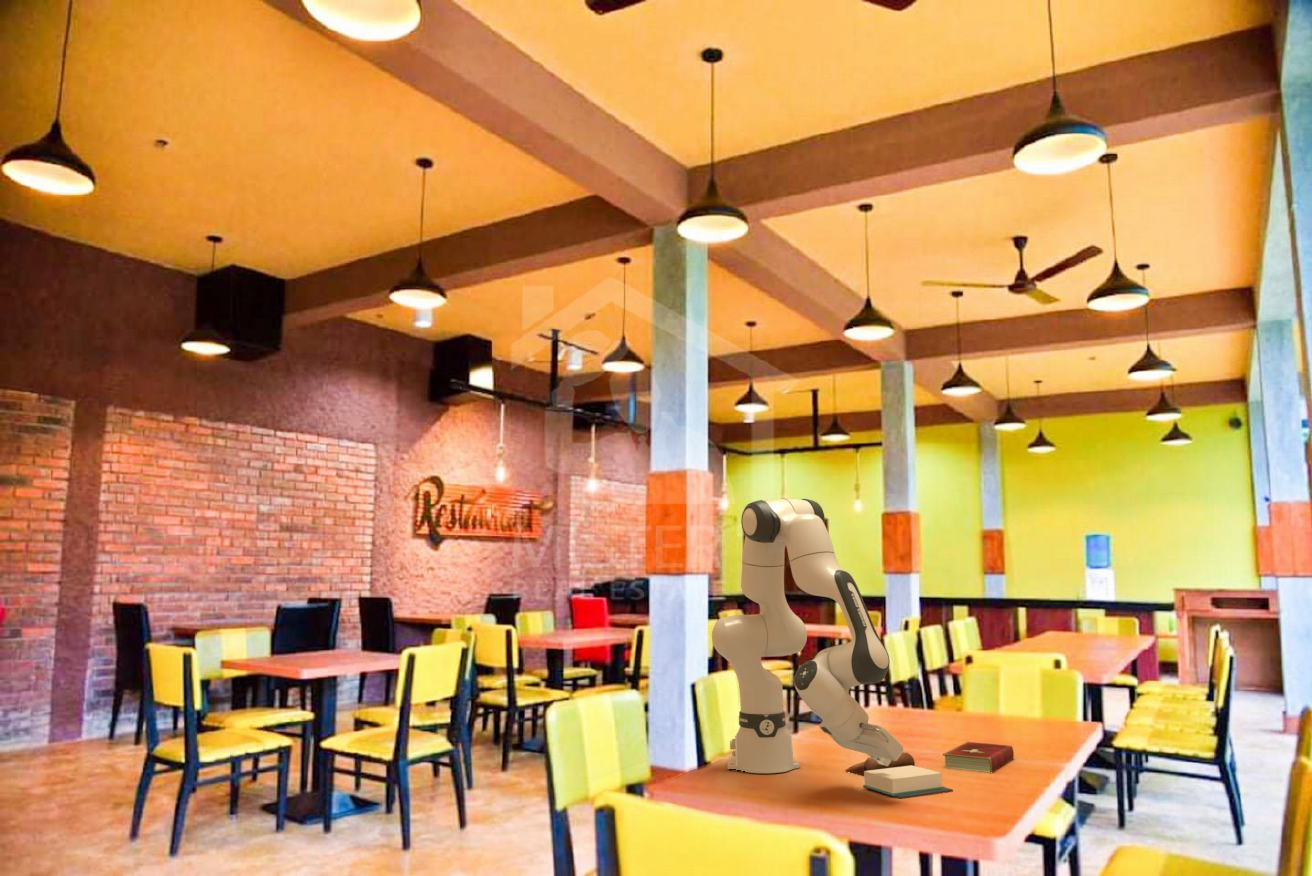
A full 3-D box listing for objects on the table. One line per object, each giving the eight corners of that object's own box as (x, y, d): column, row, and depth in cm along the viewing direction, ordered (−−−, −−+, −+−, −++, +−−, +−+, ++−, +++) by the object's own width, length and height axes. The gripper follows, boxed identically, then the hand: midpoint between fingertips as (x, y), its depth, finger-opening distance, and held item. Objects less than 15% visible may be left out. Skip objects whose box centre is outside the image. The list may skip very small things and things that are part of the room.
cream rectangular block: (892, 779, 200) (941, 773, 206) (863, 771, 209) (911, 765, 215) (892, 796, 199) (942, 789, 205) (864, 787, 208) (912, 780, 214)
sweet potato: (889, 762, 238) (898, 741, 236) (908, 780, 232) (918, 759, 230) (841, 771, 227) (850, 749, 225) (860, 791, 222) (869, 768, 220)
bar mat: (900, 798, 198) (900, 796, 198) (863, 787, 210) (863, 785, 210) (953, 791, 204) (952, 789, 204) (914, 780, 216) (914, 778, 216)
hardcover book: (1014, 761, 240) (1013, 744, 241) (992, 775, 223) (990, 757, 224) (968, 756, 247) (967, 740, 248) (943, 770, 230) (942, 752, 231)
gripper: (885, 716, 195) (923, 759, 198) (829, 705, 213) (865, 745, 216) (869, 739, 193) (908, 782, 195) (814, 726, 211) (851, 766, 213)
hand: (885, 762), depth 206 cm, fingers closed
